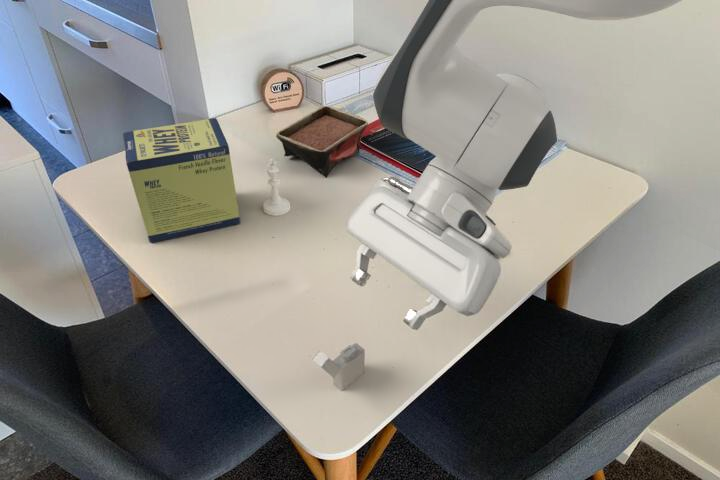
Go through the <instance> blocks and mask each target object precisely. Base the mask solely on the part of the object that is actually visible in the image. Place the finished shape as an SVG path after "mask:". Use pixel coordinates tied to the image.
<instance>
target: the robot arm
mask: <svg viewBox="0 0 720 480" xmlns="http://www.w3.org/2000/svg"><path fill="white" fill-rule="evenodd" d="M681 1H682V0H428V1H427V3H426V4H425V6H424V7H423V9H422V11H421V13H420V15H419V16H418V18H417V20H416V21H415V22H414V24H413V26H412V28H411V30H410V31H409V33H408V34H407V36H406V38H405V40H404V42H403V43H402V44H401V45H400V46H399V47H398V49H396V51H395V52H394V53H393V54H392V55H391V57H390V58H388V61H387V62H386V63H385V65H384V67H383V68H382V70H381V73H379V76H378V78H377V80H376V83H375V88H374V91H373V94H372V99H373V104H374V107H375V111H376V114H377V117H378V120H379V122H380V125H381V127H382V128H384V129H386V130H388V131H390V132H392V133H394V134H396V135H398V136H400V137H401V138H404V140H408V141H412V142H413V143H414V144H416V145H417V146H420V147H421V148H423V149H424V150H426V151H427V152H429V153H431V155H434V156H435V157H433V158H432V159H431V160H430V161H429V162H428V164H427V165H426V167H425V168H424V170H423V172H422V173H421V175H420V176H419V178H418V179H417V181H416V183H415V184H414V185H413V186H411V185H410V184H408V183H405V182H403V181H401V180H400V179H399V178H398V177H395V176H390V177H383V178H379V179H378V180H377V181H376V182H375V184H374V185H373V187H372V188H371V190H370V192H369V193H367V195H366V196H365V197H364V198H363V199H362V200H361V202H360V203H359V204H358V205H357V206H356V208H355V209H354V210H353V212H352V213H351V214H350V216H349V217H348V219H347V221H346V232H347V233H348V234H349V235H351V236H352V237H353V238H354V239H356V240H357V241H359V243H360V246H359V247H358V248H357V250H356V257H355V259H356V260H355V268H354V269H353V271H352V272H351V274H350V276H349V279H350V280H351V282H353V283H354V284H356V285H357V286H359V287H361V288H362V287H365V285H367V281H369V280H370V278H371V277H372V274H370V273H369V272H368V270H369V263H370V259H371V260H374V259H375V257H376V256H377V255H378V256H379V257H381V258H382V259H383V260H385V261H386V262H388V263H389V264H390V265H392V266H393V267H395V268H396V269H397V270H399V271H400V272H401V273H403V274H404V275H405V276H407V277H408V278H410V279H411V280H412V281H414V282H415V283H416V284H418V285H419V286H420V287H422V288H423V289H425V290H426V291H428V292H429V293H430V294H429V295H428V297H427V299H426V303H427V304H428V305H425V306H423V307H422V308H421V309H419V310H416V309H415V310H414V309H412V308H410V309H409V311H408V312H407V313H406V314H407V315H406V316H404V318H403V323H404V324H405V325H407V326H408V327H409V328H411V330H414V331H418V330H419V329H420V328H421V327H422V325H423V323H424V322H425V321H426V319H429V318H431V317H433V316H434V315H437V314H439V313H441V312H443V311H444V309H445V308H446V306H448V307H450V309H452V310H454V311H455V312H456V313H458V314H460V315H462V316H466V317H471V316H474V315H477V314H479V313H480V312H481V310H482V309H483V308H484V306H485V305H486V303H487V301H488V300H489V298H490V296H491V294H492V292H493V291H494V289H495V286H496V284H497V283H498V280H499V278H500V275H501V272H502V266H501V262H500V260H499V259H504V258H506V257H508V255H509V254H510V252H511V250H512V248H513V245H512V243H511V242H510V240H509V239H508V238H507V237H506V235H505V234H503V232H502V231H501V230H500V229H499V228H498V227H497V224H496V223H495V222H494V220H493V219H492V218H491V217H490V216H488V211H489V210H490V208H491V207H492V205H493V204H494V201H495V198H496V196H497V193H498V191H508V190H509V191H510V190H515V189H521V188H526V187H528V186H529V185H530V183H531V181H532V179H533V177H534V175H535V173H536V172H537V170H538V168H539V167H540V166H541V164H542V162H543V160H544V159H545V157H546V156H547V154H548V153H549V152H550V150H551V149H552V148H553V146H555V145H556V144H557V143H558V136H557V135H558V134H557V128H556V127H557V126H556V122H555V118H554V115H553V112H552V110H550V109H549V108H548V107H549V104H548V100H547V98H546V96H545V94H544V93H543V92H542V90H541V89H540V88H539V87H538V86H537V85H536V84H535V83H533V82H531V81H530V80H528V79H527V78H525V77H523V76H521V75H518V74H515V73H508V72H500V73H497V74H494V73H493V72H491V71H489V70H487V69H486V68H485V67H482V66H481V65H479V64H478V63H476V62H474V61H473V60H471V59H470V58H468V57H467V56H465V54H463V53H462V52H461V51H460V50H459V48H458V47H457V45H456V44H457V43H458V41H459V40H460V39H461V37H462V36H463V34H464V33H465V32H466V31H467V29H468V28H469V26H470V25H472V23H473V21H474V20H475V19H476V17H477V16H478V15H479V13H480V11H483V10H484V9H487V8H491V7H500V6H501V7H503V6H504V7H505V6H508V7H519V8H520V7H521V8H530V9H536V10H542V11H548V12H552V13H557V14H560V15H564V16H568V17H573V18H576V19H581V20H588V21H620V20H621V21H623V20H628V19H629V20H630V19H634V18H640V17H643V16H647V15H651V14H654V13H657V12H660V11H662V10H666V9H668V8H670V7H673V6H675V5H676V4H678V3H680V2H681ZM497 257H498V258H497Z"/></svg>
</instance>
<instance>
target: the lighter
mask: <svg viewBox="0 0 720 480" xmlns="http://www.w3.org/2000/svg"><path fill="white" fill-rule="evenodd" d="M365 355H366V349H365V348H364V347H363V346H361V345H359V344H358V343H357V342H356V343H353V344H352V345H351V344H349V345H348V346H347V347H345V348H344V349H343V350H342V351H340V354H339V355H338V356H336V358H334V359H333V360H332V359H331V358H330V357H329V356H327V355H326V354H325V353H324V352H323V351H322V350H318V351H317V353H316V354H315V356H313V358H312V361H313V362H314V363H316V364H317V365H318V366H319V367H320V368H321V369H323V371H324V372H326V373H327V374H328V375H330V376H331V378H332V384H333V385H334V386H335V387H336V388H337V389H339V390H340V391H344V390H346V388H348V387H349V386H350V385H352V384H353V383H354V382H355V381H356V380H358V379H359V378H360V377H361V376H362V375H364V374H365V359H366V357H365Z"/></svg>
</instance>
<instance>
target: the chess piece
mask: <svg viewBox="0 0 720 480" xmlns="http://www.w3.org/2000/svg"><path fill="white" fill-rule="evenodd" d="M269 161H270V162H266V167H268V168H267V169H266V173H267V174H268V176H269V179H268V181H267V184H268V185H270V186H271V197H270V198H267V199H266V200H265V201H264V202H263V205H262V206H263V207H262V211H263V212H264V213H265V214H266V215H268V216H275V217H276V216H283V215H286V214H287V213H288V212H289V211H290V210H291V203H290V201H289V199H286V198H285V197H282V196H281V195H280V191H279V187H278V185H280V184H281V180H280V179H279V178H278V174H279V171H280V169H279V168H278V167H277V166H278V162H277V161H274V159H273V158H270V160H269Z"/></svg>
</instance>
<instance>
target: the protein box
mask: <svg viewBox="0 0 720 480" xmlns="http://www.w3.org/2000/svg"><path fill="white" fill-rule="evenodd" d="M122 138H123V144H124V153H125V163H126V168H127V170H128V174H129V177H130V180H131V184H132V187H133V191H134V195H135V197H136V201H137V205H138V208H139V211H140V215H141V219H142V221H143V226H144V228H145V231H146V235H147V238H148V239H147V240H148V242H149V243H150V244H152V243H156V242H161V241H167V240H171V239H175V238H181V237H185V236H190V235H194V234H199V233H204V232H207V231H213V230H217V229H222V228H227V227H232V226H236V225H240V224H241V216H240V210H239V203H238V198H237V192H236V186H235V185H236V184H235V180H234V179H235V178H234V172H233V167H232V160H231V154H230V145H229V144H228V141H227V139H226V136H225V135H224V132H223V129H222V128H221V125H220V123H219V121H218V119H217V117H212V118H205V119H201V120H194V121H188V122H182V123H175V124H170V125H163V126H157V127H151V128H143V129H137V130H130V131H126V132H123V133H122Z"/></svg>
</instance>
